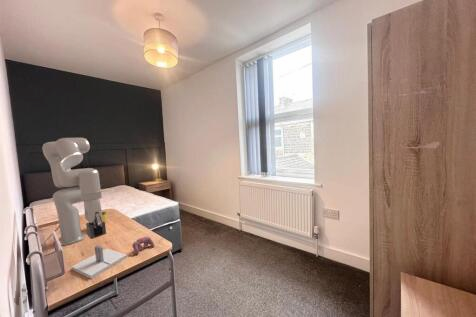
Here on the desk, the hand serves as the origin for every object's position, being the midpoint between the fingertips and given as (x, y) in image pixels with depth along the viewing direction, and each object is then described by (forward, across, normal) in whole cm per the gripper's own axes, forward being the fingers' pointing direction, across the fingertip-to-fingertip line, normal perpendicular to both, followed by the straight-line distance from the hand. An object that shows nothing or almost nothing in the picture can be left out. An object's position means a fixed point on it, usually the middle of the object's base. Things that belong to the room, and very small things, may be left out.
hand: (96, 232), depth 93 cm
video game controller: (+16, +5, +18) cm, 25 cm away
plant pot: (+15, -48, +12) cm, 52 cm away
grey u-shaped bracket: (+1, 0, 0) cm, 1 cm away
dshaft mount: (+15, 0, 0) cm, 15 cm away
